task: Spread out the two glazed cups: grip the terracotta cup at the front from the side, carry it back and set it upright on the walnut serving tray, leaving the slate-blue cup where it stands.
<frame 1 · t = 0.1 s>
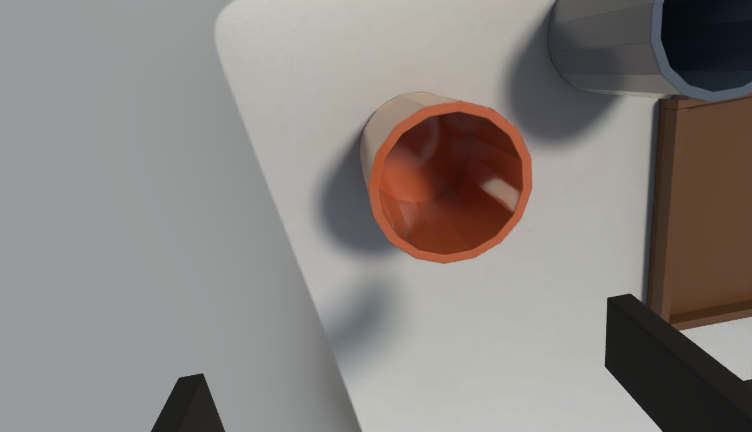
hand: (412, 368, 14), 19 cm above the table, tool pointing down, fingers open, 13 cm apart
terracotta cup: (416, 151, 30), on the table
slate cup: (606, 29, 28), on the table
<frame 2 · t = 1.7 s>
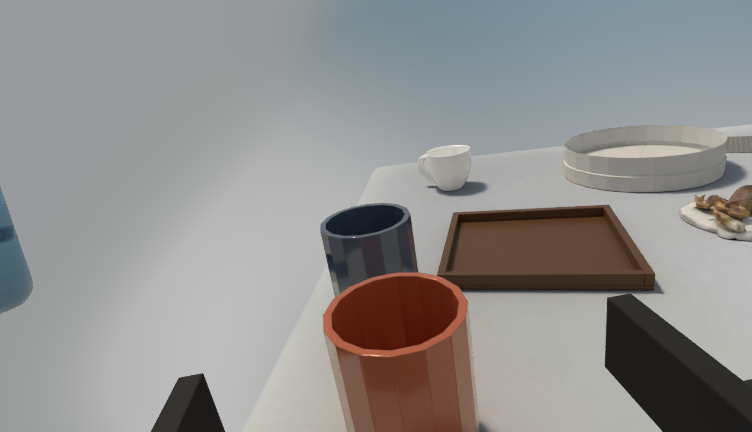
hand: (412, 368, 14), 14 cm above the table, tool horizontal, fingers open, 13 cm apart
cup: (445, 188, 76), on the table
slate cup: (381, 311, 42), on the table
tray: (532, 249, 49), on the table
dish: (637, 171, 68), on the table
frog figurine: (740, 218, 48), on the table
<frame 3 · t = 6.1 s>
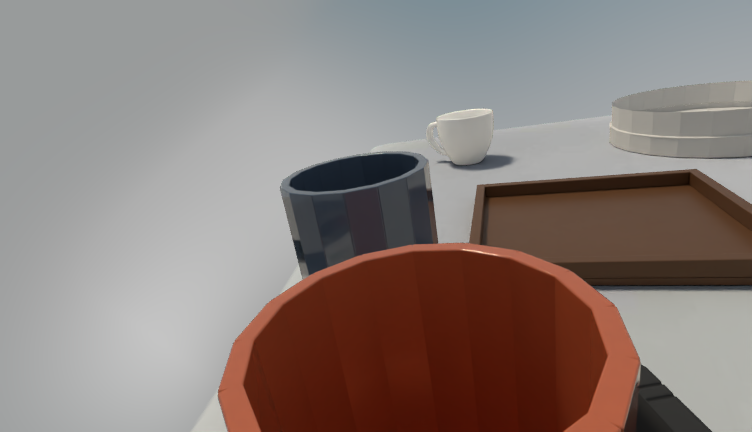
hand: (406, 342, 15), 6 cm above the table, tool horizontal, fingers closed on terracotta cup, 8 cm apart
cup: (460, 162, 61), on the table
slate cup: (381, 320, 27), on the table
tray: (597, 228, 34), on the table
dish: (707, 136, 53), on the table
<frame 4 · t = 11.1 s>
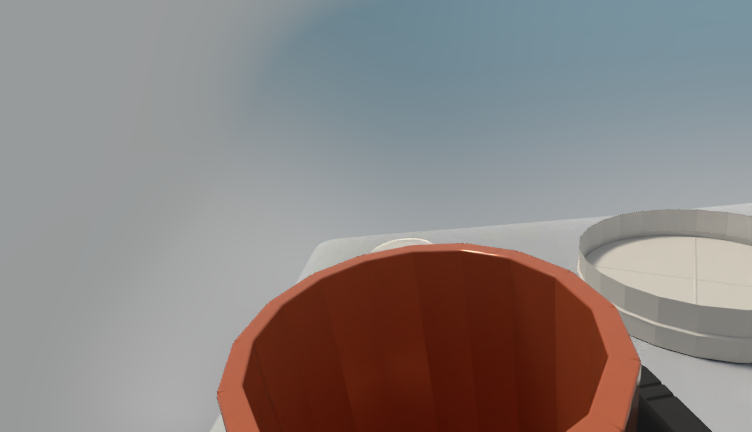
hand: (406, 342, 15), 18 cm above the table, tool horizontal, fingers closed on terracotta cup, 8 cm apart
cup: (401, 302, 51), on the table
dish: (693, 292, 44), on the table
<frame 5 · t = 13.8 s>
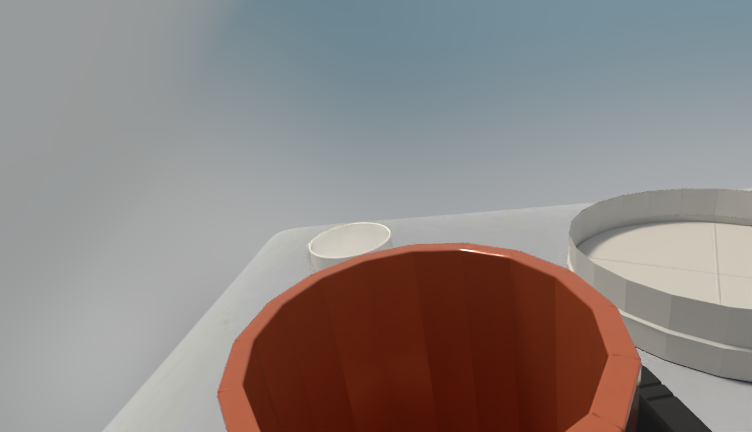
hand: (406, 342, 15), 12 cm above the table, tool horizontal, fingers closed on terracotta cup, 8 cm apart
cup: (353, 300, 42), on the table
dish: (714, 291, 34), on the table
when the fingers open (6 cm above the table, at t = 15.9 s): terracotta cup stays where it is, resting on tray.
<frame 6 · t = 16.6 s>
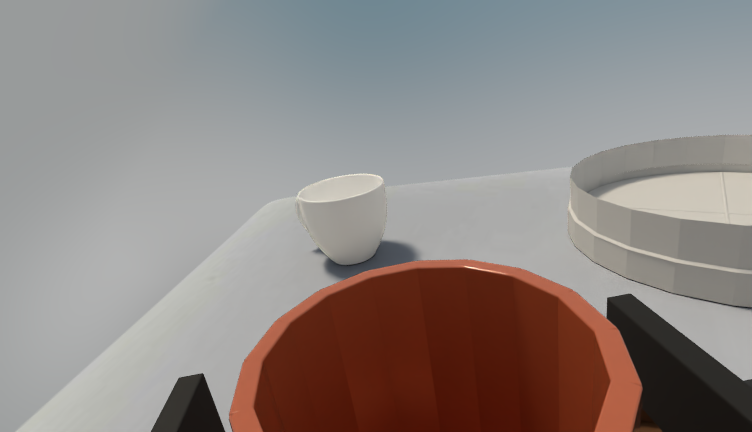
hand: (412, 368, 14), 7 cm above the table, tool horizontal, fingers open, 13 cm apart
cup: (345, 254, 40), on the table
dish: (723, 232, 32), on the table
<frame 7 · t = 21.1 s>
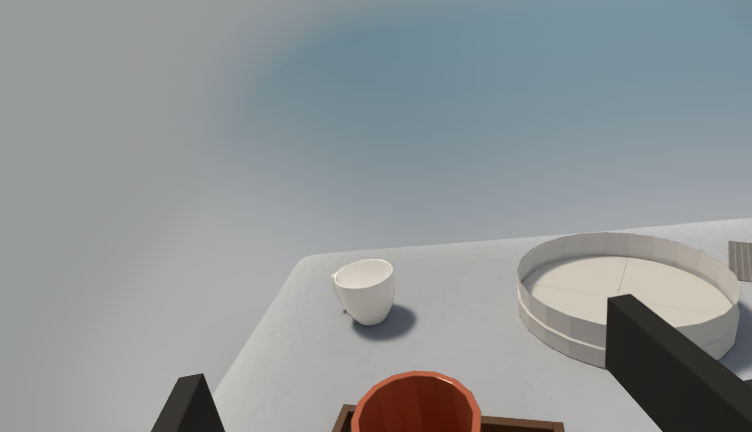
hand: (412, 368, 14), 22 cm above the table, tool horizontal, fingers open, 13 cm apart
cup: (365, 315, 57), on the table
dish: (615, 309, 50), on the table
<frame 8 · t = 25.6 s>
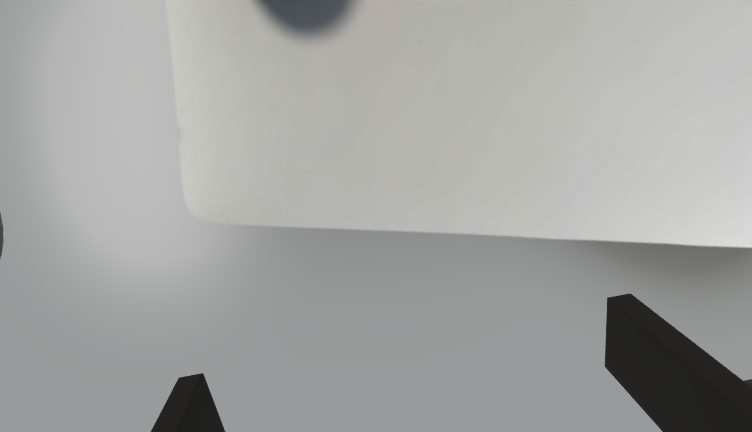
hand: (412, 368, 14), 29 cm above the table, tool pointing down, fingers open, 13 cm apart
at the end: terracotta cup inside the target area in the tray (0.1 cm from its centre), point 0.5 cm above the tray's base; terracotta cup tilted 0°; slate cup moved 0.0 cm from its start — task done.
